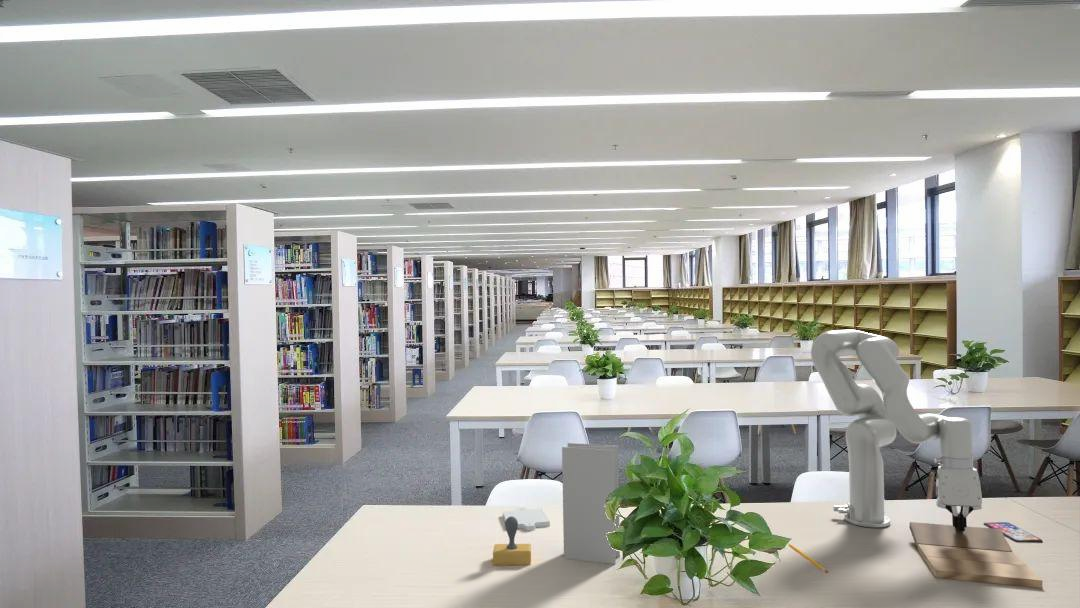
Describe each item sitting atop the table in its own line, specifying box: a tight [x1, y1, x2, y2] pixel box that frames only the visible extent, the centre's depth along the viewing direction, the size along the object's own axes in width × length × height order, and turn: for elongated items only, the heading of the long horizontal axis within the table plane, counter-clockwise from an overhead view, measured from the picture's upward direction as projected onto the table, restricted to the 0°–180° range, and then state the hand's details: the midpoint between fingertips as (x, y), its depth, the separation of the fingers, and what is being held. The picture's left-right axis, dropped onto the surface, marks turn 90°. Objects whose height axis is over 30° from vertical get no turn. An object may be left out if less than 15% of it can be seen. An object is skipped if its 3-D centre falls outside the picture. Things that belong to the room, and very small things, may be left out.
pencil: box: [788, 544, 829, 574], centre depth 173 cm, size 1×19×1 cm, turn 7°
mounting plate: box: [502, 507, 551, 532], centre depth 205 cm, size 18×13×2 cm
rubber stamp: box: [492, 516, 532, 566], centre depth 174 cm, size 10×6×12 cm, turn 90°
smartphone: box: [983, 521, 1044, 543], centre depth 188 cm, size 8×1×15 cm
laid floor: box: [917, 544, 1043, 589], centre depth 164 cm, size 22×18×2 cm
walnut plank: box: [909, 521, 1013, 552], centre depth 177 cm, size 22×9×2 cm, turn 72°
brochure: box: [561, 442, 621, 565], centre depth 175 cm, size 14×6×30 cm, turn 71°
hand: (959, 529), depth 179 cm, fingers closed
